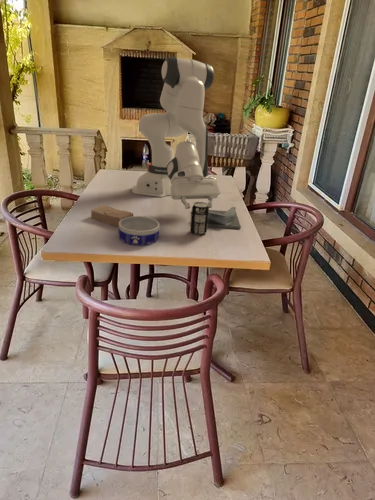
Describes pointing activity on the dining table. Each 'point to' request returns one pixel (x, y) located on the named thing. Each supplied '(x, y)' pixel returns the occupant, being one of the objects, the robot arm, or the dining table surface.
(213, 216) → the v block
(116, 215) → the brick
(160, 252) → the dining table surface
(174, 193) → the robot arm
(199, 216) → the beverage can
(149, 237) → the dog bowl
